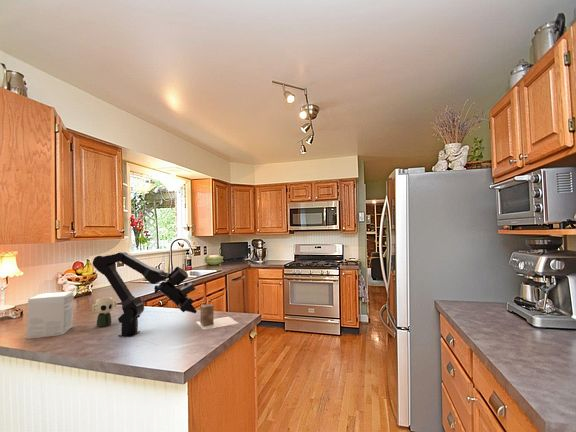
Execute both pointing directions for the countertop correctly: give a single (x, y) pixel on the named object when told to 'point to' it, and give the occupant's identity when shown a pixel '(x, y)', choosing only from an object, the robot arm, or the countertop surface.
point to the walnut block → (207, 315)
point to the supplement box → (49, 314)
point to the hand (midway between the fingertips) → (196, 312)
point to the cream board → (219, 323)
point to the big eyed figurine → (104, 310)
